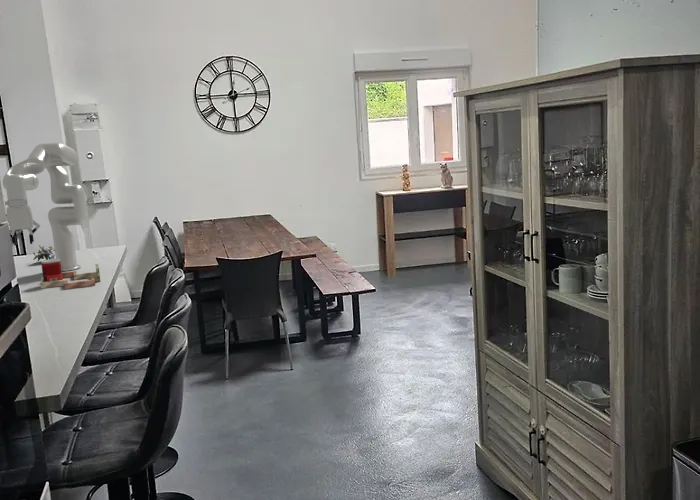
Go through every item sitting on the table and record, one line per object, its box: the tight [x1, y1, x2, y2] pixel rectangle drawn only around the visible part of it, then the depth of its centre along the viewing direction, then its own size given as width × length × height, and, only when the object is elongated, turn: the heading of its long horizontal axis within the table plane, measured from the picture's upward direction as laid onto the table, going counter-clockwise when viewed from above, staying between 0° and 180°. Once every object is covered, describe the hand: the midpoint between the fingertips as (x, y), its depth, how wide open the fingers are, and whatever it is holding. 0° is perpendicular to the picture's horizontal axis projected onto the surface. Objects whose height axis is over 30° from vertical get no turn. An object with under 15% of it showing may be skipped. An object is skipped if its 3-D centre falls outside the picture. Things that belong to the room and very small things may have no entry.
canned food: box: [40, 258, 64, 282], centre depth 290 cm, size 8×8×11 cm
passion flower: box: [32, 245, 56, 262], centre depth 350 cm, size 11×11×12 cm
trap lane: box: [39, 263, 101, 290], centre depth 293 cm, size 25×29×6 cm
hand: (23, 244), depth 284 cm, fingers open, 5 cm apart
